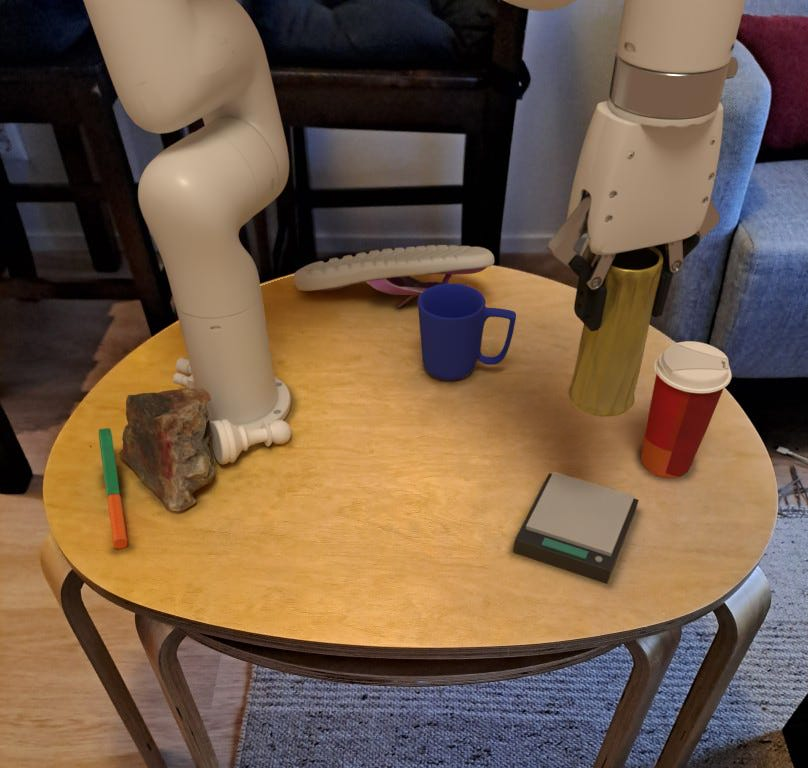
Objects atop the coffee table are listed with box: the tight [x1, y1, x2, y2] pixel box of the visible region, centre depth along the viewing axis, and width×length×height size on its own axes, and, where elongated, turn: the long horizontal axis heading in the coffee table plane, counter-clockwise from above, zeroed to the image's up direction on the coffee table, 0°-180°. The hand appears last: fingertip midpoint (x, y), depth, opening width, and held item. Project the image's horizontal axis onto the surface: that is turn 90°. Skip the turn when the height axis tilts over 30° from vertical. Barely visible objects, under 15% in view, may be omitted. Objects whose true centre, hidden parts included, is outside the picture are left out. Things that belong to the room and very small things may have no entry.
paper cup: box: [640, 340, 733, 479], centre depth 88 cm, size 8×8×14 cm
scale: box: [513, 471, 640, 584], centre depth 85 cm, size 10×11×3 cm
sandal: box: [293, 244, 495, 308], centre depth 115 cm, size 13×29×7 cm, turn 85°
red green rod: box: [98, 427, 128, 550], centre depth 88 cm, size 15×6×2 cm
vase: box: [567, 246, 663, 418], centre depth 71 cm, size 6×6×14 cm
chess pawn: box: [209, 419, 292, 465], centre depth 94 cm, size 5×5×9 cm
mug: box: [417, 282, 517, 382], centre depth 102 cm, size 8×12×10 cm
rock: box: [118, 388, 217, 512], centre depth 89 cm, size 12×12×10 cm
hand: (618, 313), depth 69 cm, fingers closed on vase, 5 cm apart
